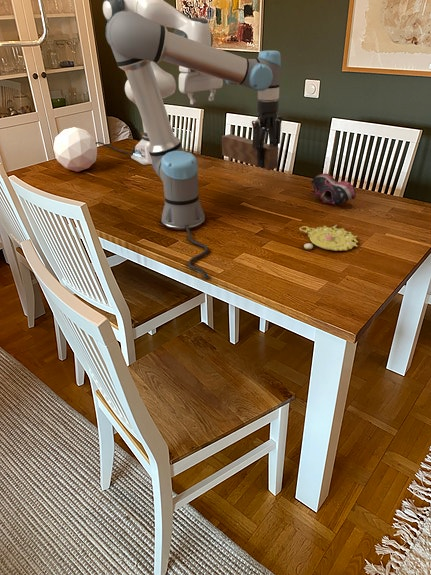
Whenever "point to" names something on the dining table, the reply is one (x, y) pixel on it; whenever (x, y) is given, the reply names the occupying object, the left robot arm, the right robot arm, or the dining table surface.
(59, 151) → the sphere
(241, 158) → the bar
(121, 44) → the right robot arm
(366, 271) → the dining table surface
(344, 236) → the decorative object
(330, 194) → the athletic shoe
